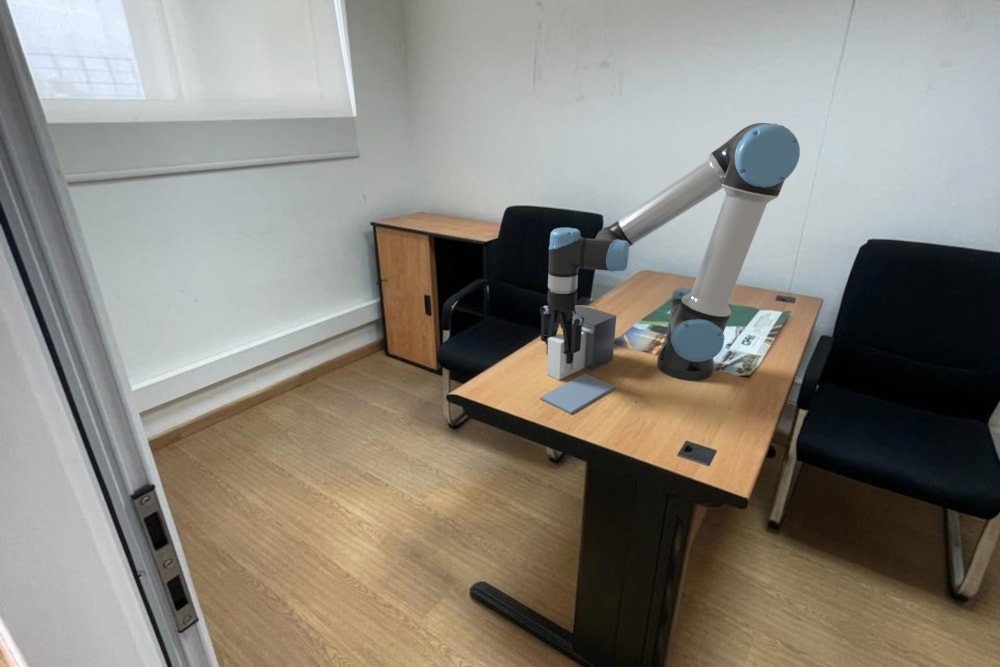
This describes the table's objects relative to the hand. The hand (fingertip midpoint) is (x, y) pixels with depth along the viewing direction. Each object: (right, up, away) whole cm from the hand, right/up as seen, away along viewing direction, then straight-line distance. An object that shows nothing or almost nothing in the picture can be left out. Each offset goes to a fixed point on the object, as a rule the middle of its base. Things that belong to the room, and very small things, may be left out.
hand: (559, 369), depth 140 cm
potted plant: (+18, -8, -13) cm, 24 cm away
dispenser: (+10, +2, +9) cm, 13 cm away
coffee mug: (+10, +8, +24) cm, 27 cm away
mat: (+4, -6, -9) cm, 11 cm away
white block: (+4, 0, +4) cm, 6 cm away
